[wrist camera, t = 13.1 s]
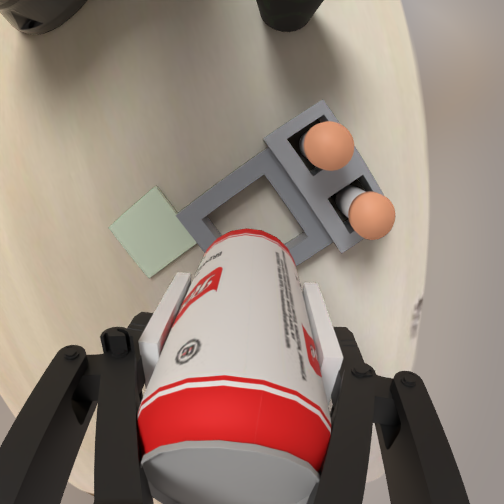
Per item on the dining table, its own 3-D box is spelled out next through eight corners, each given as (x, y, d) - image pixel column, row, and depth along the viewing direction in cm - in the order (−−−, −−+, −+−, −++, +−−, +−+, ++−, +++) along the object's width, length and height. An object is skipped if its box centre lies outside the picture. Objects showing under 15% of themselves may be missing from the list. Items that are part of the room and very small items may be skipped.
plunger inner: (287, 139, 32) (295, 138, 24) (318, 119, 31) (336, 112, 23) (309, 171, 33) (323, 180, 25) (340, 150, 32) (363, 153, 24)
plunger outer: (324, 194, 33) (343, 210, 26) (355, 174, 33) (381, 184, 25) (344, 224, 34) (366, 248, 27) (373, 204, 34) (402, 223, 26)
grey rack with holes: (175, 203, 35) (165, 210, 32) (316, 103, 31) (323, 99, 28) (248, 296, 39) (247, 313, 35) (382, 208, 35) (395, 216, 31)
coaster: (110, 226, 37) (108, 227, 36) (156, 185, 35) (155, 186, 34) (150, 276, 39) (148, 278, 38) (199, 240, 37) (198, 242, 36)
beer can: (193, 295, 23) (118, 501, 8) (215, 212, 21) (115, 397, 6) (277, 318, 23) (291, 534, 8) (307, 239, 21) (388, 448, 6)
